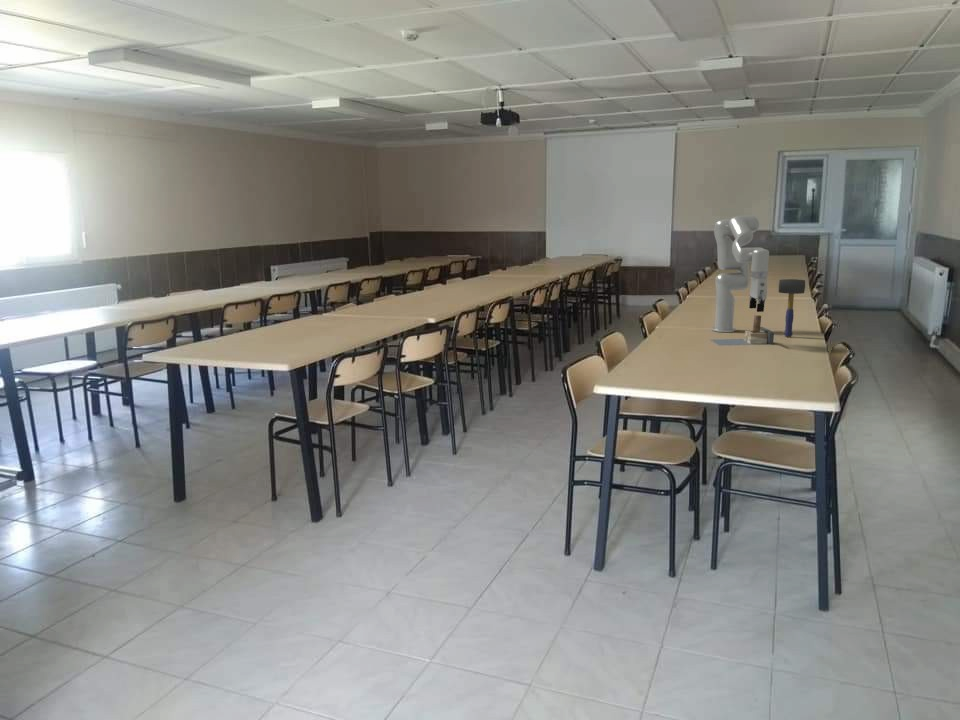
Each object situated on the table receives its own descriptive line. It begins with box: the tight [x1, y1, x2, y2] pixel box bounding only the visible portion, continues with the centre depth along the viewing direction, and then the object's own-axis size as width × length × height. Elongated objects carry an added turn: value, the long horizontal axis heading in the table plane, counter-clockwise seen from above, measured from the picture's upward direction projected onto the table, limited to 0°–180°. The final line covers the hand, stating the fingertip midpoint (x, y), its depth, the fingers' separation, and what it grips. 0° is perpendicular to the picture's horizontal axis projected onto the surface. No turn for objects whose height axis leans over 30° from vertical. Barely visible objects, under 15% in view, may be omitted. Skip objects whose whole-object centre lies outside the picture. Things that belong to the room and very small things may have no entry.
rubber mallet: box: [778, 278, 806, 338], centre depth 361 cm, size 12×8×30 cm, turn 66°
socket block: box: [744, 330, 768, 344], centre depth 345 cm, size 8×8×5 cm
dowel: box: [752, 314, 762, 333], centre depth 344 cm, size 3×3×12 cm
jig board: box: [710, 326, 775, 346], centre depth 346 cm, size 15×26×8 cm, turn 90°
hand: (756, 309), depth 344 cm, fingers open, 9 cm apart
